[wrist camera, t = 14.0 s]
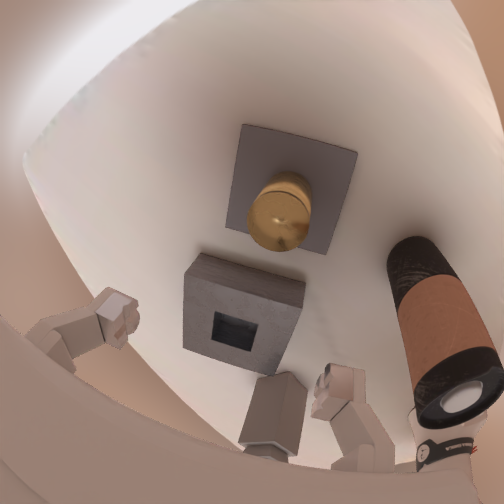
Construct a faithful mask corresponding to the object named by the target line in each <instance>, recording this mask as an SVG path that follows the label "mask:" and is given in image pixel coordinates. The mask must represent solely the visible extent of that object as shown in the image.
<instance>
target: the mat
mask: <svg viewBox="0 0 504 504" xmlns="http://www.w3.org/2000/svg"><path fill="white" fill-rule="evenodd" d="M357 156H358V153H357V152H354V151H350V150H347V149H344V148H341V147H337V146H334V145H331V144H327V143H324V142H320V141H316V140H313V139H309V138H305V137H301V136H297V135H293V134H289V133H284V132H280V131H275V130H271V129H266V128H261V127H256V126H251V125H246V124H243V125H242V128H241V134H240V140H239V145H238V151H237V157H236V163H235V169H234V175H233V181H232V187H231V193H230V200H229V206H228V213H227V219H226V226H225V227H226V228H230V229H233V230H237V231H241V232H244V233H248V234H250V233H249V230H248V227H247V214H248V211H249V209H250V207H251V206H252V204H253V203H254V201H255V200H256V198H257V197H258V195H259V194H260V193H261V191H262V190H263V188H264V187H265V185H266V184H267V182H268V181H269V180H270V178H272V177H273V176H274V175H275V174H277V173H280V172H284V171H291V172H295V173H298V174H300V175H302V176H303V177H304V178H305V179H306V180H307V181H308V182H309V184H310V186H311V189H312V204H311V214H310V224H309V231H308V234H307V236H306V238H305V240H304V241H303V242H302V243H301V244H300V245H299V246H297V247H298V248H302V249H305V250H309V251H313V252H316V253H320V254H323V255H326V253H327V250H328V247H329V245H330V242H331V239H332V236H333V233H334V230H335V227H336V224H337V221H338V218H339V215H340V212H341V209H342V206H343V203H344V200H345V196H346V193H347V190H348V187H349V183H350V180H351V177H352V173H353V170H354V166H355V163H356V159H357Z"/></svg>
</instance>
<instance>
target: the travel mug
mask: <svg viewBox="0 0 504 504" xmlns="http://www.w3.org/2000/svg"><path fill="white" fill-rule="evenodd" d="M387 272H388V277H389V281H390V285H391V289H392V294H393V298H394V302H395V307H396V312H397V317H398V321H399V325H400V329H401V333H402V338H403V342H404V347H405V351H406V356H407V361H408V366H409V371H410V376H411V382H412V388H413V394H414V401H415V408H416V416H417V421H418V423H419V425H420V426H421V427H423V428H425V429H431V430H438V429H445V428H450V427H454V426H457V425H460V424H462V423H464V422H467V421H469V420H471V419H473V418H475V417H476V416H478V415H479V414H481V413H482V412H484V411H485V410H487V409H488V408H489V407H490V406H491V405H492V404H494V402H496V400H497V399H498V398H499V397H500V396H501V394H502V393H503V391H504V369H503V367H502V364H501V362H500V359H499V356H498V354H497V351H496V349H495V347H494V344H493V342H492V340H491V338H490V335H489V333H488V331H487V329H486V327H485V325H484V323H483V321H482V319H481V317H480V315H479V313H478V311H477V309H476V307H475V305H474V303H473V301H472V299H471V297H470V296H469V294H468V292H467V290H466V289H465V287H464V285H463V284H462V282H461V280H460V279H459V277H458V276H457V275H456V273H455V272H454V270H453V269H452V267H451V266H450V264H449V263H448V262H447V260H446V259H445V258H444V256H443V255H442V253H441V252H440V251H439V250H438V248H437V247H436V246H435V245H434V243H433V242H431V241H430V240H429V239H426V238H424V237H419V236H416V237H410V238H407V239H404V240H403V241H401V242H400V243H398V244H397V245H396V246H395V247H394V248H393V250H392V251H391V253H390V255H389V257H388V261H387Z"/></svg>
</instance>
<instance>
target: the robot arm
mask: <svg viewBox="0 0 504 504" xmlns="http://www.w3.org/2000/svg"><path fill="white" fill-rule="evenodd" d="M137 307H138V300H136V299H134V298H132V297H130V296H128V295H125V294H123V293H121V292H119V291H117V290H115V289H113V288H111V287H107V288H105V289H104V290H103V291H102V292H101V293H100V294H99V295H98V296H97V297H96V298H95V299H94V300H93V301H92V302H91V303H90V304H89V305H88V306H87V307H86V308H85V307H80V308H77V309H73V310H70V311H67V312H63V313H60V314H57V315H54V316H50V317H47V318H44V319H41V320H40V321H39V322H38V323H37V324H36V325H35V326H34V327H33V328H32V329H31V330H30V331H29V332H28V333H27V334H26V335H25V336H23V335H22V334H21V333H19V331H17V330H16V329H15V328H14V327H13V326H12V325H11V324H10V323H9V322H8V321H7V320H5V319H4V318H3V317H2V316H1V315H0V504H483V503H482V502H481V501H480V499H479V497H478V492H477V488H476V486H475V485H474V483H473V476H472V468H471V460H470V455H471V454H472V453H474V452H475V451H476V450H477V449H476V450H474V449H475V448H476V447H477V446H475V447H474V448H473V442H474V438H475V436H476V435H477V433H478V432H479V431H480V429H481V428H482V426H483V425H484V424H485V422H486V420H487V410H485V411H484V412H482V413H481V414H479V415H478V416H476V417H475V418H473V419H471V420H469V421H467V422H464V423H462V424H460V425H457V426H454V427H450V428H445V429H438V430H431V429H425V428H423V427H421V426H420V425H419V423H418V421H417V416H416V408H414V409H413V410H412V411H411V412H410V414H409V416H408V421H409V423H410V425H411V428H412V431H413V434H414V438H415V443H416V448H417V454H416V470H417V472H412V473H394V472H395V445H394V443H393V442H392V440H391V439H390V437H389V435H388V434H387V432H386V431H385V429H384V428H383V426H382V424H381V423H380V421H379V420H378V418H377V416H376V415H375V413H374V412H373V410H372V408H371V407H370V405H369V404H366V394H365V372H364V370H360V369H356V368H352V367H347V366H342V365H338V364H333V363H328V364H327V366H326V367H325V373H323V374H321V375H320V377H319V378H318V380H317V383H316V386H315V390H314V396H315V398H316V400H315V401H314V402H313V404H312V411H311V417H312V418H316V419H321V420H326V421H330V425H331V427H332V430H333V432H334V434H335V437H336V439H337V441H338V444H339V446H340V449H341V451H342V453H343V456H344V457H342V458H341V459H339V460H337V461H336V462H334V463H333V464H331V470H328V469H320V468H313V467H307V466H301V465H295V464H290V463H285V462H280V461H275V460H271V459H266V458H262V457H258V456H254V455H250V454H247V453H243V452H239V451H236V450H233V449H229V448H226V447H223V446H220V445H217V444H214V443H211V442H208V441H205V440H202V439H200V438H197V437H194V436H192V435H189V434H186V433H184V432H181V431H179V430H177V429H174V428H172V427H169V426H167V425H165V424H163V423H160V422H158V421H156V420H154V419H152V418H149V417H147V416H145V415H143V414H141V413H139V412H137V411H135V410H133V409H131V408H130V407H128V406H126V405H124V404H122V403H120V402H118V401H116V400H115V399H113V398H111V397H109V396H107V395H106V394H104V393H102V392H101V391H99V390H98V389H96V388H94V387H93V386H91V385H89V384H88V383H86V382H85V381H83V380H82V379H80V378H79V377H77V376H76V375H74V373H75V371H76V366H75V365H74V362H73V361H72V359H74V358H76V357H78V356H80V355H82V354H84V353H86V352H88V351H90V350H92V349H94V348H96V347H98V346H101V345H103V344H105V343H107V344H109V345H111V346H113V347H115V348H117V349H119V350H121V348H122V347H123V346H124V344H125V343H126V342H127V341H128V335H129V334H132V333H134V332H135V330H136V329H137V327H138V324H139V320H140V314H139V312H138V311H137ZM473 450H474V451H473Z"/></svg>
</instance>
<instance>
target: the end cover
mask: <svg viewBox="0 0 504 504" xmlns="http://www.w3.org/2000/svg"><path fill="white" fill-rule="evenodd" d="M311 204H312V189H311V186H310V184H309V182H308V181H307V180H306V179H305V178H304V177H303V176H302V175H300V174H298V173H295V172H291V171H284V172H280V173H277V174H275V175H274V176H273V177H272V178H270V180H269V181H268V182H267V184H266V185H265V187H264V188H263V190H262V191H261V193H260V194H259V195H258V197H257V198H256V200H255V201H254V203H253V204H252V206H251V207H250V209H249V211H248V214H247V227H248V230H249V233H250V235H251V236H252V238H253V239H254V240H255V241H256V242H257V243H258V244H259V245H260V246H262V247H264V248H266V249H268V250H271V251H277V252H284V251H289V250H292V249H294V248H296V247H297V246H299V245H300V244H301V243H302V242H303V241H304V240H305V238H306V236H307V234H308V231H309V224H310V214H311Z"/></svg>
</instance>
